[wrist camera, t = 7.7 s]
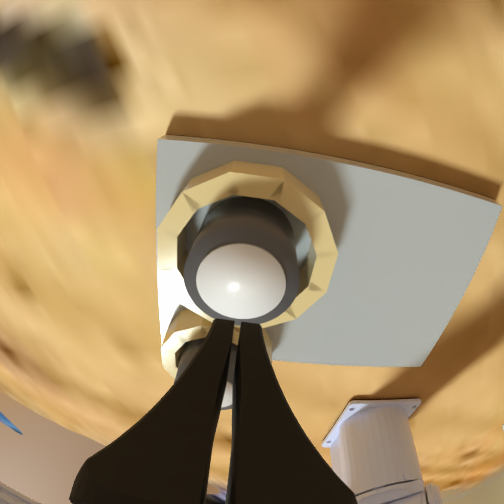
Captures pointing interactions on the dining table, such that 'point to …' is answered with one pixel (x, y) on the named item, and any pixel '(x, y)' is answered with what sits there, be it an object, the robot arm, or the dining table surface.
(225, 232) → the cap
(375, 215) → the board
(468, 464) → the dining table surface
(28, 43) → the dining table surface
